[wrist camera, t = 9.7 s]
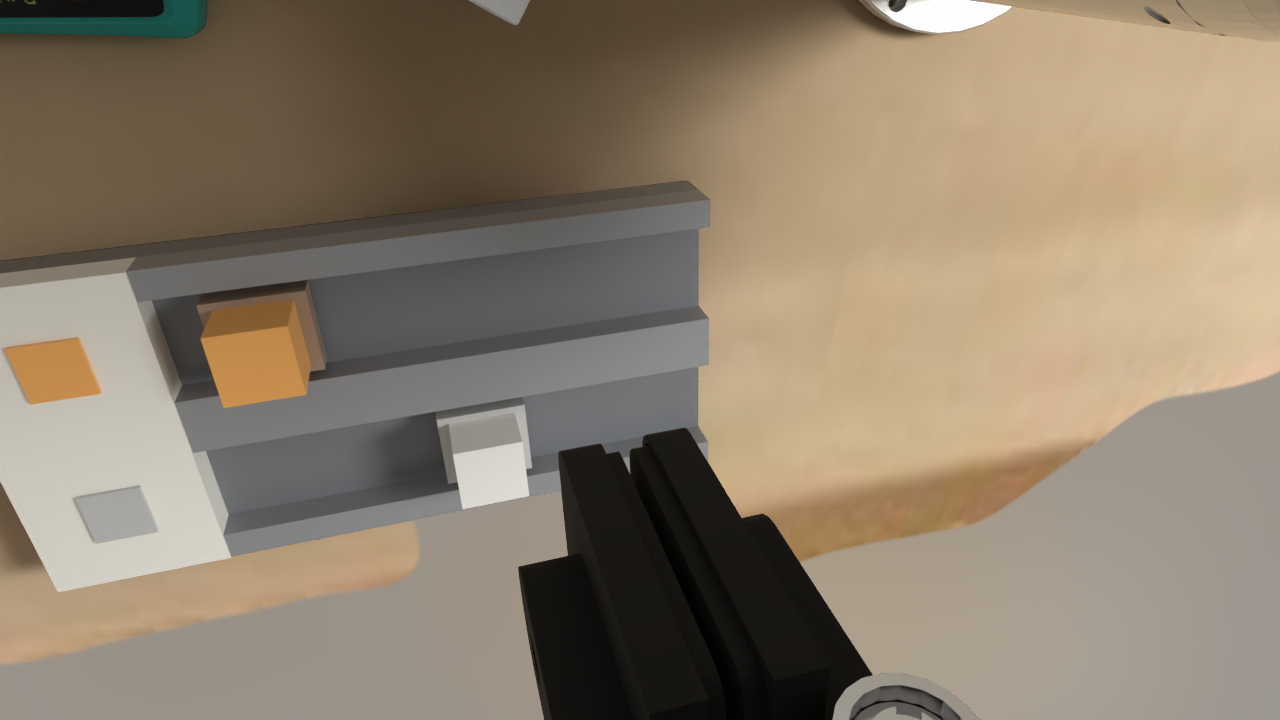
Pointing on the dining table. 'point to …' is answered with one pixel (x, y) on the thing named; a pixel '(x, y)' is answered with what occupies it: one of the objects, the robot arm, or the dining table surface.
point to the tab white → (486, 451)
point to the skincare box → (504, 8)
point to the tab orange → (261, 341)
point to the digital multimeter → (104, 17)
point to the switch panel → (444, 320)
